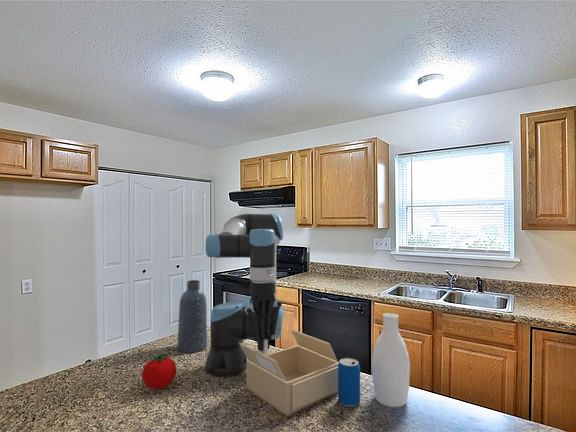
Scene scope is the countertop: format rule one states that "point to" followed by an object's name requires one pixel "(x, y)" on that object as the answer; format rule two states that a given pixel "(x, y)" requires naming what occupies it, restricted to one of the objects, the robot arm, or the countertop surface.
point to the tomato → (159, 372)
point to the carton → (294, 380)
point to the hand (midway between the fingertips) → (263, 361)
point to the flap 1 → (262, 361)
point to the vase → (192, 319)
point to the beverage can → (349, 382)
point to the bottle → (391, 365)
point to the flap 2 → (314, 344)
